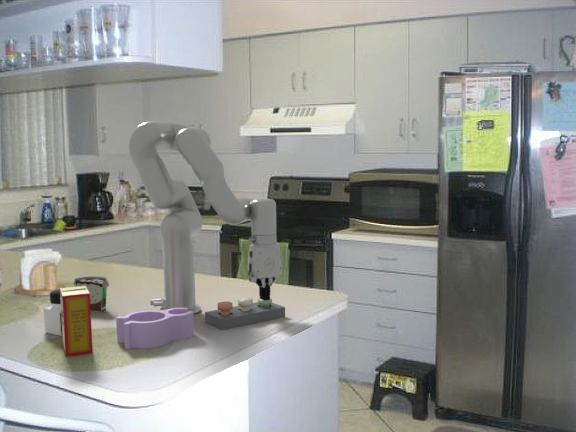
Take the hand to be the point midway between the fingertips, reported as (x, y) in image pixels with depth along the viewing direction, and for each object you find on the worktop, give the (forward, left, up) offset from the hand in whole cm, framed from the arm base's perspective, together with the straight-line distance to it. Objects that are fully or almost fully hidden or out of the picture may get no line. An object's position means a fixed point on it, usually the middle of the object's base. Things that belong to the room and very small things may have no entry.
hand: (264, 299), depth 201 cm
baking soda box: (-51, -25, -5) cm, 57 cm away
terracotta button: (-12, -7, -4) cm, 14 cm away
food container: (-53, +15, -5) cm, 56 cm away
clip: (-31, -19, -6) cm, 37 cm away
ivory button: (-6, -3, -4) cm, 8 cm away
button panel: (-6, -4, -5) cm, 9 cm away
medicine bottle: (-58, -9, -5) cm, 59 cm away
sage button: (0, 0, -5) cm, 5 cm away
